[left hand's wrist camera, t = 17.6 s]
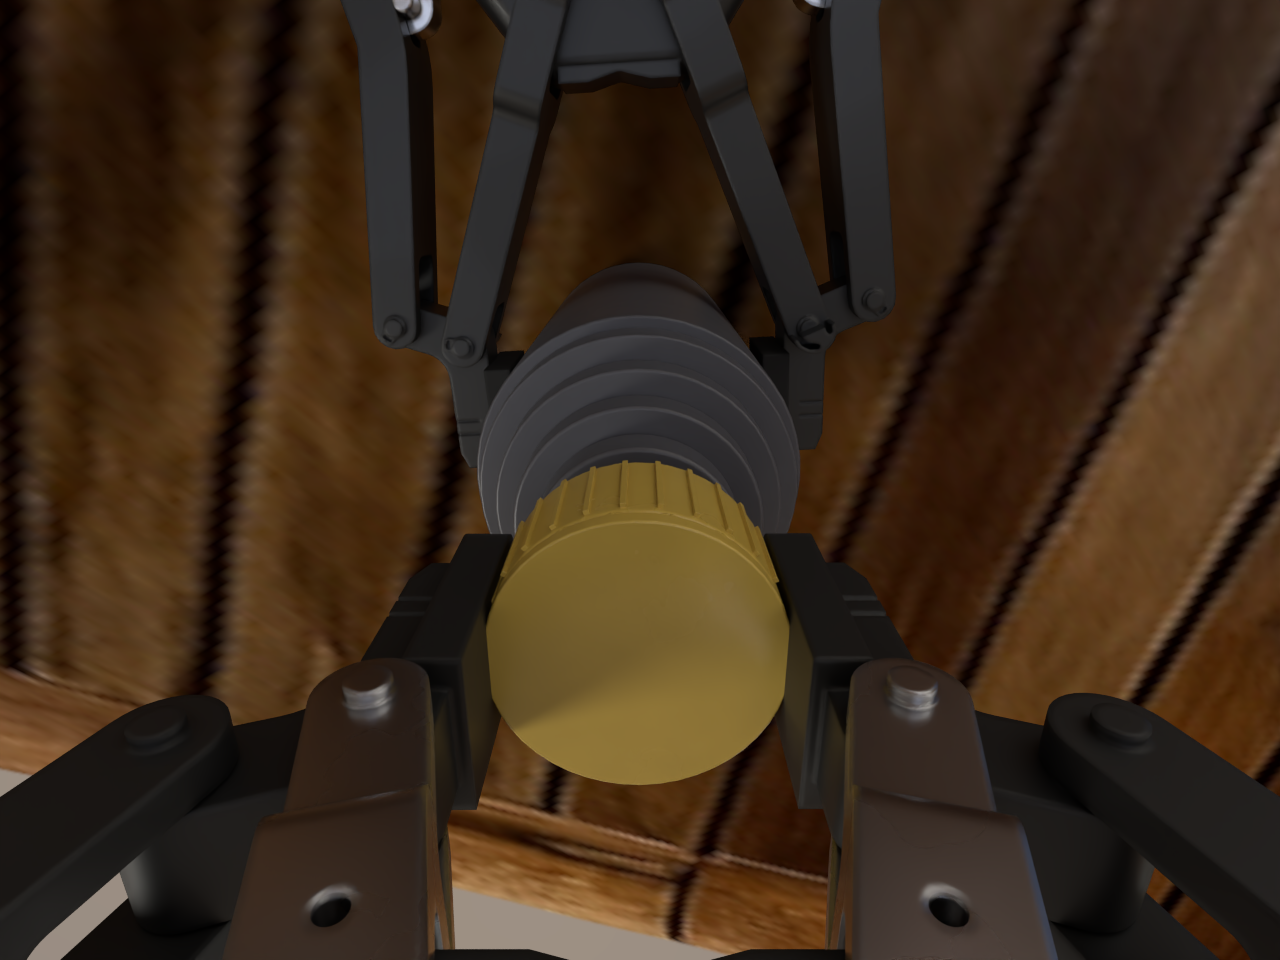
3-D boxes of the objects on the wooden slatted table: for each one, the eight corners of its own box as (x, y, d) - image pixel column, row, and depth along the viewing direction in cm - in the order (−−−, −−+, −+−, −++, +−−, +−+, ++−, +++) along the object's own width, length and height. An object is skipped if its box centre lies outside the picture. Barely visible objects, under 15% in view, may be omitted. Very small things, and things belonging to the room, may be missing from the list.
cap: (821, 599, 12) (860, 684, 10) (619, 732, 13) (615, 834, 11) (660, 401, 11) (666, 449, 9) (451, 562, 12) (410, 642, 10)
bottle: (607, 475, 31) (558, 899, 12) (511, 324, 28) (270, 558, 10) (762, 390, 29) (973, 717, 11) (674, 225, 27) (748, 281, 9)
